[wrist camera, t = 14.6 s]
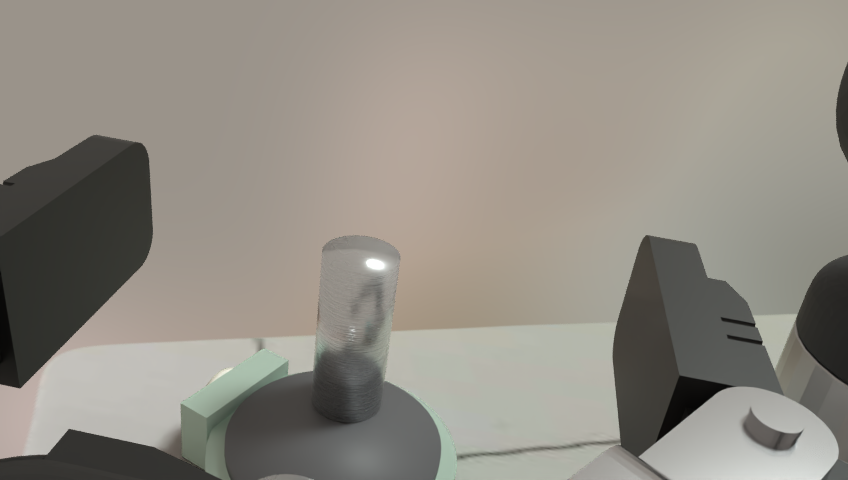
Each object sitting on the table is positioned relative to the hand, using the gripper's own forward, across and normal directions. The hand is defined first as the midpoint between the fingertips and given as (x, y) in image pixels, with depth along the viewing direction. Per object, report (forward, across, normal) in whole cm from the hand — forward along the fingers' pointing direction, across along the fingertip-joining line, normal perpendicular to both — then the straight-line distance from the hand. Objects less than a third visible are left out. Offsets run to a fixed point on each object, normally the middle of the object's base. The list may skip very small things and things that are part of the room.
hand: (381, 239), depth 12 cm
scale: (+21, +5, +28) cm, 36 cm away
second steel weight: (+24, +5, +25) cm, 35 cm away
